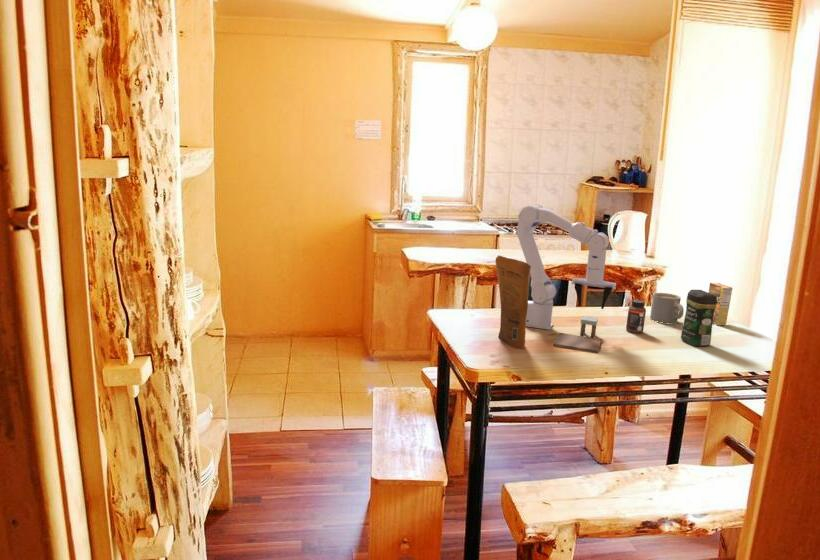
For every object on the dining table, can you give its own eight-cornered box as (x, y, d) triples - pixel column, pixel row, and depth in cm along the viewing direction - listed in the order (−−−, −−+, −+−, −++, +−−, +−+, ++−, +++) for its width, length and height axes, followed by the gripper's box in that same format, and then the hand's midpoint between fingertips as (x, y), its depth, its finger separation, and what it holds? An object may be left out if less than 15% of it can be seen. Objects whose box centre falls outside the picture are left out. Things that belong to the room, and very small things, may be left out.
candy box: (703, 319, 245) (709, 282, 242) (712, 319, 246) (718, 282, 243) (716, 325, 237) (723, 287, 233) (726, 326, 237) (733, 287, 234)
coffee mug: (644, 317, 244) (648, 292, 242) (667, 317, 246) (670, 292, 244) (664, 326, 231) (668, 301, 229) (688, 326, 233) (691, 301, 231)
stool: (579, 336, 213) (581, 319, 212) (580, 332, 218) (582, 316, 216) (594, 338, 211) (596, 321, 210) (596, 334, 216) (597, 318, 215)
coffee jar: (676, 338, 216) (683, 287, 212) (696, 338, 217) (704, 288, 213) (692, 347, 207) (701, 294, 203) (714, 347, 208) (722, 294, 204)
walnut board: (553, 345, 200) (553, 343, 200) (559, 334, 213) (559, 332, 213) (597, 353, 195) (597, 350, 195) (601, 341, 208) (601, 339, 208)
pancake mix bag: (513, 351, 192) (521, 264, 187) (487, 333, 210) (494, 253, 204) (532, 350, 195) (541, 263, 189) (505, 332, 212) (512, 253, 206)
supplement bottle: (644, 334, 219) (648, 303, 217) (626, 332, 220) (630, 302, 218) (641, 330, 225) (645, 300, 223) (624, 328, 226) (628, 298, 224)
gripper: (618, 269, 210) (613, 307, 213) (575, 264, 216) (571, 301, 218) (617, 272, 204) (612, 311, 207) (572, 267, 209) (568, 305, 212)
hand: (591, 306), depth 212 cm, fingers open, 7 cm apart
